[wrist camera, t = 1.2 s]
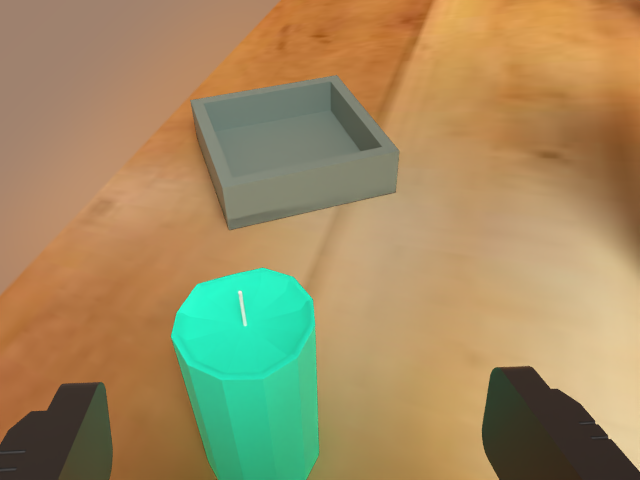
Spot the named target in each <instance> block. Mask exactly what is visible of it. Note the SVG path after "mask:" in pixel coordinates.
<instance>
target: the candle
mask: <svg viewBox="0 0 640 480" xmlns="http://www.w3.org/2000/svg"><path fill="white" fill-rule="evenodd" d="M171 339H172V342H173V345H174V349H175V352H176V355H177V359H178V362H179V365H180V369H181V372H182V375H183V379H184V382H185V385H186V389H187V392H188V395H189V399H190V402H191V405H192V409H193V412H194V415H195V419H196V422H197V425H198V429H199V432H200V435H201V439H202V442H203V445H204V449H205V452H206V455H207V459H208V462H209V464H210V466H211V468H212V470H213V471H214V473H215V475H216V477H217V479H218V480H306V479H307V478H308V476H309V474H310V472H311V470H312V468H313V466H314V464H315V462H316V460H317V458H318V456H319V434H318V401H317V368H316V335H315V317H314V306H313V299H312V298H311V296H310V295H309V294H308V293H307V292H306V291H305V290H304V288H303V287H302V286H301V285H300V284H299V283H298V281H297V280H296V279H295V278H294V277H292V276H289V275H286V274H283V273H279V272H276V271H273V270H269V269H266V268H259V269H255V270H250V271H246V272H241V273H237V274H232V275H228V276H224V277H221V278H217V279H214V280H210V281H207V282H203V283H199V284H197V285H196V286H195V288H194V289H193V291H192V292H191V293H190V295H189V296H188V298H187V299H186V300H185V302H184V303H183V305H182V306H181V307H180V309H179V310H178V312H177V314H176V318H175V322H174V326H173V330H172V334H171Z"/></svg>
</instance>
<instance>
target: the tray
mask: <svg viewBox="0 0 640 480" xmlns="http://www.w3.org/2000/svg"><path fill="white" fill-rule="evenodd" d="M190 101H191V107H192V112H193V117H194V123H195V128H196V134H197V139H198V142H199V145H200V148H201V151H202V153H203V156H204V159H205V162H206V165H207V168H208V171H209V174H210V176H211V179H212V182H213V185H214V188H215V191H216V194H217V197H218V199H219V202H220V205H221V208H222V211H223V214H224V217H225V220H226V223H227V225H228V228H229V230H232V229H236V228H240V227H245V226H249V225H254V224H258V223H262V222H267V221H271V220H276V219H280V218H284V217H289V216H293V215H297V214H302V213H306V212H311V211H315V210H319V209H324V208H328V207H333V206H337V205H341V204H346V203H350V202H354V201H359V200H363V199H368V198H372V197H376V196H381V195H385V194H390V193H394V192H396V182H397V172H398V161H399V150H398V149H397V147H396V146H395V145H394V144H393V143H392V141H391V140H390V139H389V138H388V137H387V135H386V134H385V133H384V132H383V131H382V129H381V128H380V127H379V126H378V124H377V123H376V122H375V121H374V120H373V118H372V117H371V116H370V115H369V114H368V112H367V111H366V110H365V109H364V107H363V106H362V105H361V104H360V103H359V101H358V100H357V99H356V98H355V97H354V95H353V94H352V93H351V92H350V91H349V89H348V88H347V87H346V86H345V84H344V83H343V82H342V81H341V80H340V78H339V77H338V76H337V75H336V76H330V77H324V78H318V79H312V80H306V81H300V82H295V83H289V84H283V85H277V86H271V87H265V88H259V89H254V90H248V91H242V92H236V93H230V94H224V95H218V96H213V97H207V98H201V99H195V100H190Z"/></svg>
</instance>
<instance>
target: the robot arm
mask: <svg viewBox="0 0 640 480" xmlns="http://www.w3.org/2000/svg"><path fill="white" fill-rule="evenodd" d="M482 440H483V446H484V450H485V453H486V456H487V458H488V460H489V462H490V463H491V465H492V467H493V469H494V471H495V472H496V474H497V476H498V478H499V480H640V472H639V470H638V469H637V468H636V467H635V466H634V465H633V464H632V462H631V461H630V460H629V459H628V458H627V457H626V456H625V454H624V453H623V452H622V451H621V450H620V449H619V448H618V446H617V445H616V444H615V443H614V442H613V441H612V440H611V439H608V435H607V434H606V433H605V432H604V430H603V429H602V428H601V427H600V426H599V425H596V424H595V420H594V419H593V418H592V417H591V416H590V414H589V413H588V412H587V411H586V410H585V409H584V408H583V406H582V405H581V404H580V403H578V402H577V401H575V400H574V399H572V398H571V397H569V396H568V395H566V394H565V393H563V392H562V391H560V390H558V389H550V388H549V386H548V385H547V384H546V383H545V382H544V380H543V379H542V378H541V377H540V376H539V374H538V373H537V372H536V371H535V370H534V369H533V368H532V367H530V366H521V367H497V368H494V369H493V370H492V372H491V375H490V381H489V387H488V393H487V399H486V406H485V412H484V418H483V425H482ZM112 457H113V449H112V438H111V430H110V421H109V413H108V405H107V396H106V389H105V386H104V384H103V383H102V382H94V383H69V384H62V385H61V386H60V387H59V389H58V391H57V393H56V394H55V396H54V398H53V400H52V402H51V404H50V406H49V408H48V410H47V411H31V412H30V413H29V414H27V415H26V416H25V417H24V418H23V419H21V420H20V421H19V422H18V423H17V424H15V425H14V426H13V427H12V428H11V429H9V431H8V432H7V434H6V436H5V437H4V439H3V441H2V442H1V444H0V480H109V479H110V474H111V468H112Z"/></svg>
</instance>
